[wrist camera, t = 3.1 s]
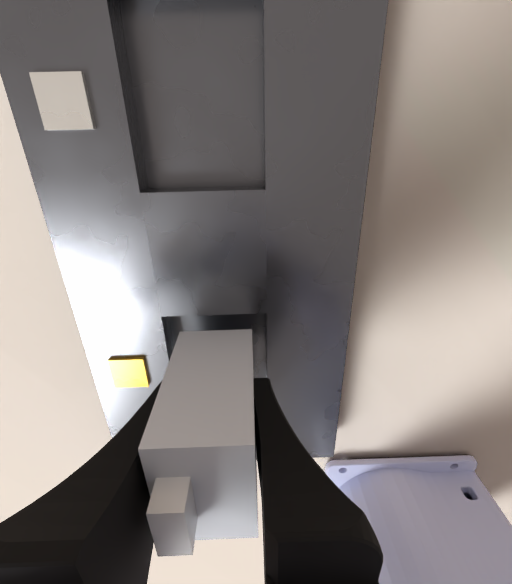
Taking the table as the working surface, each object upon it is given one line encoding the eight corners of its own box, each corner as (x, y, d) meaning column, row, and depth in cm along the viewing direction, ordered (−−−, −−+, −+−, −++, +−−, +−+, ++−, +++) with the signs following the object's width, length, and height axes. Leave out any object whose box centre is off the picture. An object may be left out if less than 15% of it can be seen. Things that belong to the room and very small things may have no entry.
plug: (251, 329, 14) (255, 479, 8) (254, 404, 16) (259, 574, 10) (179, 331, 14) (125, 485, 8) (191, 406, 16) (154, 578, 10)
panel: (389, -165, 9) (418, -227, 8) (327, 434, 19) (334, 460, 18) (-37, -160, 9) (-96, -221, 7) (128, 441, 19) (118, 467, 18)
